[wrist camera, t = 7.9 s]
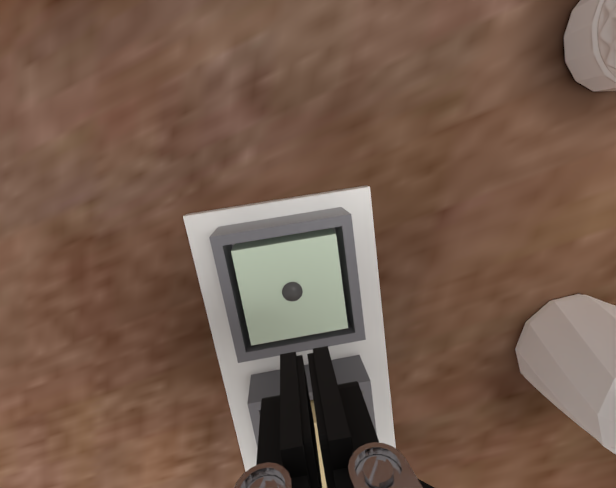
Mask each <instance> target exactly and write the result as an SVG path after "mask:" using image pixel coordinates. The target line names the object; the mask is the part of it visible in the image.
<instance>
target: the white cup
mask: <svg viewBox="0 0 616 488" xmlns="http://www.w3.org/2000/svg"><path fill="white" fill-rule="evenodd" d="M564 54H565V63H566V65H567V67H568V68H569V70H570V72H571V74H572V76H573V78H574V79H575V81H576V82H578V83H579V84H581V85H583V86H585V87H586V88H588V89H590V90H591V91H594V92H597V91H616V0H580V1H579V2H578V4H577V5H576V6H575V7H574V9H573V10H572V12H571V15H570V18H569V22H568V25H567V28H566V31H565V34H564Z"/></svg>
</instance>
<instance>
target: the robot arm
mask: <svg viewBox="0 0 616 488" xmlns="http://www.w3.org/2000/svg"><path fill="white" fill-rule="evenodd" d="M307 357H308V364H309V371H310V378H311V386H312V393H313V400H314V407H315V414H316V422H317V429H318V436H319V443H320V449H321V455H322V461H323V467H324V473H325V479H326V485H327V488H434V487H432V486H430V485H428V484H427V483H425V482H423V481H421V480H419V479H417V477H416V475H415V474H414V472H413V470H412V469H411V467H410V466H409V464H408V462H407V461H406V459H405V457H404V456H403V455H402V454H401V453H400V451H399V450H397V449H396V448H394V447H393V446H391V445H388V444H385V443H379V440H378V437H377V434H376V432H375V429H374V426H373V423H372V420H371V417H370V414H369V412H368V409H367V406H366V403H365V400H364V397H363V395H362V392H361V389H360V386H359V383H358V382H357V381H354V382H349V383H343V384H337V380H336V376H335V373H334V369H333V365H332V361H331V357H330V353H329V349H328V346H324V347H319V348H313V353H309V354H307ZM234 488H322V481H321V473H320V465H319V458H318V450H317V442H316V434H315V427H314V420H313V414H312V409H311V403H310V397H309V391H308V385H307V379H306V373H305V368H304V362H303V356H302V355H298V356H296V352H290V353H284V354H280V395H277V396H271V397H266V398H262V400H261V410H260V423H259V435H258V448H257V461H256V466H254V467H252V468H250V469H249V470H248V471H246V472H245V473H244V474H243V475H242V476H241V477H240V479H239V480H238V481H237V483H236V485H235V487H234Z"/></svg>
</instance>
